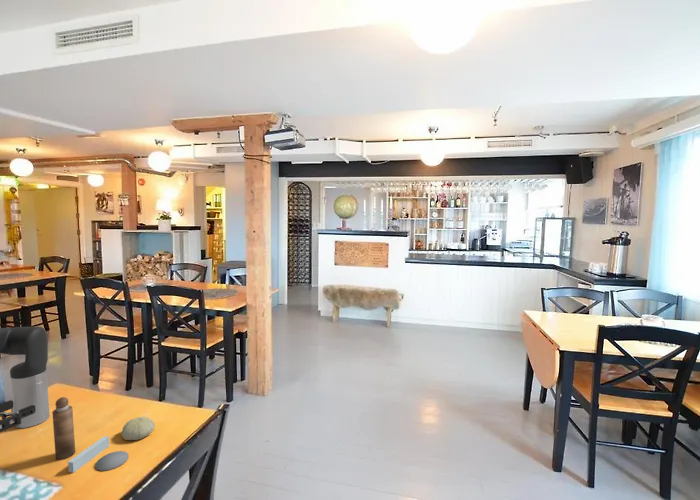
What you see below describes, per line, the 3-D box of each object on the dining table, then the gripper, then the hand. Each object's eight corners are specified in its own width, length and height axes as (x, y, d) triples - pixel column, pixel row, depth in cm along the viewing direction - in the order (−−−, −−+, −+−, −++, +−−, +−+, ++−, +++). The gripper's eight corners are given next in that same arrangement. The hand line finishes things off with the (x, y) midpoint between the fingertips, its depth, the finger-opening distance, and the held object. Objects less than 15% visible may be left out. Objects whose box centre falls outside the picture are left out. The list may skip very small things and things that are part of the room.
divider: (68, 471, 100) (68, 461, 100) (104, 445, 112) (104, 436, 112) (73, 472, 100) (72, 462, 100) (109, 445, 112) (108, 436, 111)
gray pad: (88, 468, 101) (88, 467, 101) (111, 450, 109) (111, 449, 109) (113, 472, 100) (113, 471, 100) (134, 453, 108) (134, 452, 108)
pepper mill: (51, 458, 105) (47, 401, 104) (66, 448, 110) (62, 393, 108) (64, 460, 105) (60, 402, 103) (79, 450, 109) (75, 394, 108)
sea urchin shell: (142, 439, 112) (125, 419, 113) (127, 453, 114) (111, 434, 114) (163, 422, 121) (147, 404, 122) (149, 436, 123) (134, 418, 123)
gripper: (-41, 427, 78) (41, 396, 94) (-81, 417, 82) (4, 388, 98) (-40, 461, 79) (42, 424, 94) (-80, 449, 83) (5, 415, 98)
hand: (23, 406), depth 96 cm, fingers open, 8 cm apart
